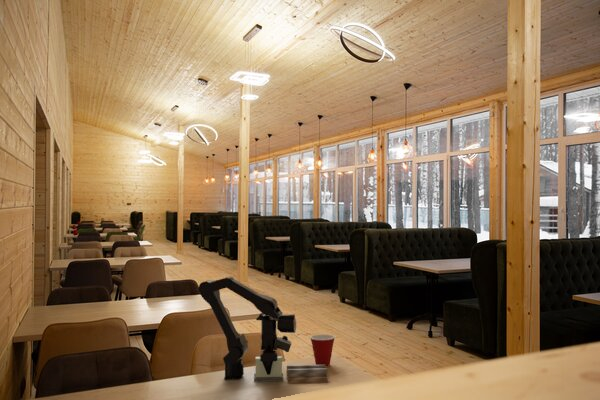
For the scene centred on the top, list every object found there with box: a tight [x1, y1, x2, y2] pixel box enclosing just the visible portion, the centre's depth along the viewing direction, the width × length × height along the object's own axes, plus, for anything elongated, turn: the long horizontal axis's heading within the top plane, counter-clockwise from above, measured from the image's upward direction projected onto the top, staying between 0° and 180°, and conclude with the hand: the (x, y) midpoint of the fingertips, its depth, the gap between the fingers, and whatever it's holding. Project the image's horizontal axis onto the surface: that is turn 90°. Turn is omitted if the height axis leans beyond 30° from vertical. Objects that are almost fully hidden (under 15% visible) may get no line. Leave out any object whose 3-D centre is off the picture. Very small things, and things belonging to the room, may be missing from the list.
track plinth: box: [285, 364, 329, 384], centre depth 173 cm, size 15×10×4 cm, turn 94°
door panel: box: [254, 355, 283, 377], centre depth 172 cm, size 10×2×8 cm, turn 94°
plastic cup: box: [309, 334, 336, 367], centre depth 188 cm, size 11×11×12 cm
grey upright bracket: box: [253, 372, 284, 383], centre depth 172 cm, size 11×5×1 cm, turn 94°
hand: (268, 373), depth 172 cm, fingers closed on door panel, 2 cm apart
